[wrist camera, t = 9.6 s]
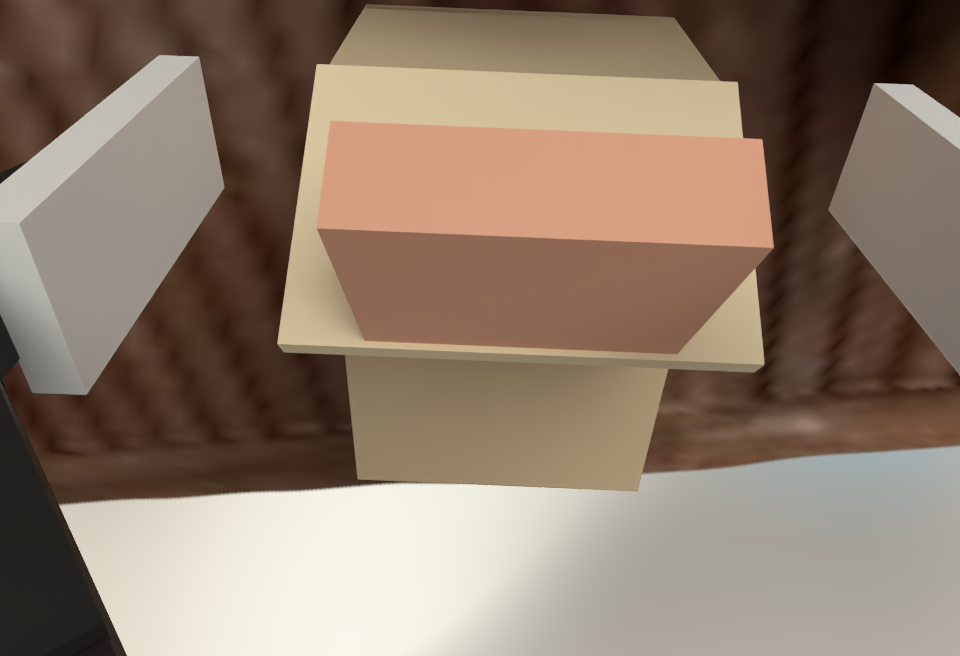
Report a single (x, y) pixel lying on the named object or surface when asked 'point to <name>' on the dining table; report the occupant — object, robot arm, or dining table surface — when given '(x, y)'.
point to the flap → (528, 220)
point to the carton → (492, 384)
